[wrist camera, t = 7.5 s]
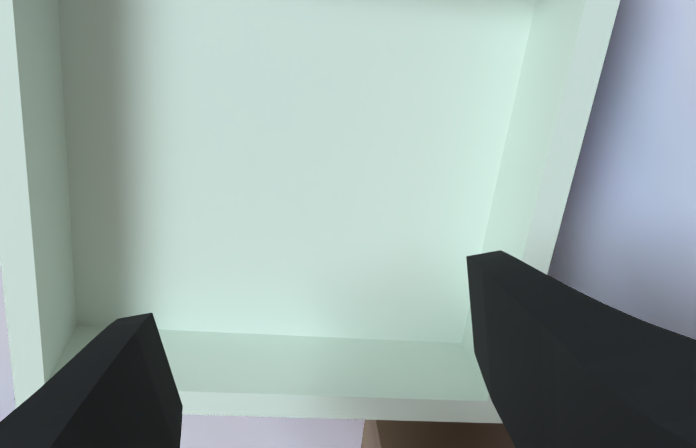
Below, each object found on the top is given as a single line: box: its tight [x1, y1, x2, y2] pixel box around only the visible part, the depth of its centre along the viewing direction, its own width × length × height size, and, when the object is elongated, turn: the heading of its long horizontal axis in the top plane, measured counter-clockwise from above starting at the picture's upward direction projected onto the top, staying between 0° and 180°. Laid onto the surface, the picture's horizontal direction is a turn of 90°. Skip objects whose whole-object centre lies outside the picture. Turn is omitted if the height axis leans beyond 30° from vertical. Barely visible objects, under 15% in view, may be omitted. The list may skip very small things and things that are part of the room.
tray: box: [0, 0, 620, 423], centre depth 18 cm, size 14×14×4 cm
